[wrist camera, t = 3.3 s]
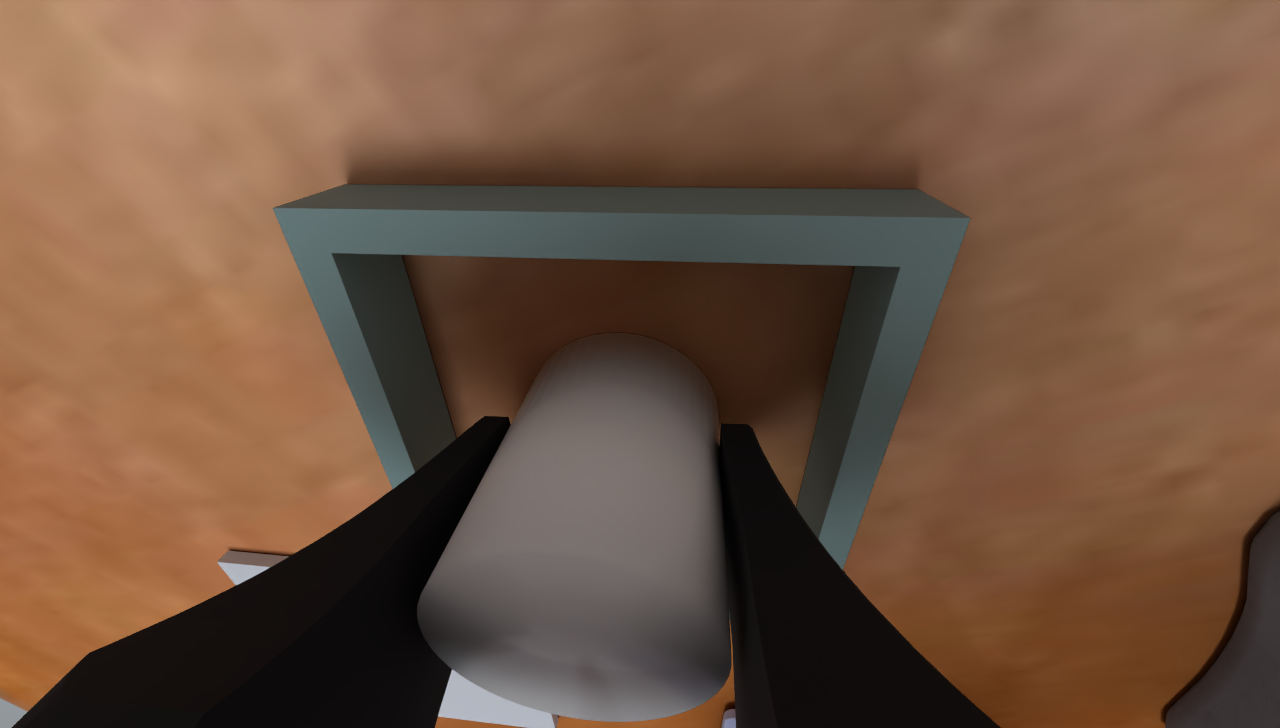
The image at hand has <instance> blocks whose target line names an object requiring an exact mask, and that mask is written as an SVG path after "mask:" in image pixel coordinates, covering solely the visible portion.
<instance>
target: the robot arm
mask: <svg viewBox="0 0 1280 728" xmlns="http://www.w3.org/2000/svg"><path fill="white" fill-rule="evenodd" d="M509 427H510V421H509V417H493V416H484V417H483V418H482V419H480V420H479V421H478V422H476V423H475V424H474V425H473V426H471V427H470V428H469V429H468V430H467V431H465V432H464V433H463V434H462V435H460V436H459V437H458V438H457V439H456V440H454V441H453V442H452V443H451V444H450V445H448V446H447V447H446V448H445V449H443V450H442V451H441V452H440V453H439V454H437V455H436V456H435V457H434V458H432V459H431V460H430V461H429V462H427V463H426V464H425V465H424V466H422V467H421V468H420V469H419V470H417V471H416V472H415V473H414V474H412V475H411V476H410V477H408V478H407V479H406V480H404V481H403V482H402V483H400V484H399V485H398V486H396V487H395V488H394V489H392V490H391V491H390V492H388V493H387V494H386V495H384V496H383V497H382V498H380V499H379V500H378V501H376V502H375V503H374V504H372V505H371V506H369V507H368V508H366V509H365V510H363V511H362V512H361V513H359V514H358V515H356V516H355V517H353V518H352V519H350V520H349V521H347V522H346V523H344V524H342V525H341V526H339V527H338V528H336V529H335V530H333V531H331V532H330V533H328V534H327V535H325V536H324V537H322V538H320V539H319V540H317V541H315V542H314V543H312V544H310V545H309V546H307V547H305V548H303V549H302V550H300V551H298V552H296V553H295V554H293V555H291V556H289V557H288V558H286V559H284V560H282V561H281V562H279V563H277V564H275V565H274V566H272V567H270V568H268V569H266V570H265V571H263V572H261V573H259V574H257V575H255V576H254V577H252V578H250V579H248V580H246V581H244V582H242V583H240V584H238V585H236V586H234V587H232V588H230V589H228V590H227V591H224V592H222V593H220V594H218V595H216V596H214V597H212V598H210V599H208V600H206V601H204V602H202V603H200V604H198V605H196V606H194V607H192V608H190V609H188V610H185V611H183V612H181V613H179V614H177V615H175V616H173V617H170V618H168V619H166V620H164V621H161V622H159V623H157V624H154V625H152V626H150V627H148V628H145V629H143V630H141V631H139V632H136V633H134V634H132V635H130V636H127V637H125V638H123V639H120V640H118V641H116V642H114V643H111V644H109V645H107V646H104V647H102V648H100V649H97V650H95V651H92V652H90V653H89V654H87V655H86V656H85V657H84V658H83V659H82V660H81V661H80V662H79V663H78V664H77V665H76V666H75V667H74V668H73V669H72V670H71V671H70V672H69V673H67V674H66V675H65V676H64V677H63V678H62V679H61V680H60V681H59V682H58V683H57V684H56V685H55V686H54V687H53V688H52V689H51V690H50V691H49V692H48V693H47V694H46V695H45V696H44V697H43V698H42V699H41V700H40V701H39V702H38V703H37V704H36V705H34V706H33V707H32V708H31V709H30V710H29V711H28V712H27V713H26V714H25V715H24V716H23V717H22V718H21V719H20V720H19V721H18V722H17V723H16V724H15V725H14V726H13V727H12V728H435V725H436V721H437V717H438V714H439V711H440V707H441V704H442V701H443V698H444V694H445V691H446V688H447V684H448V681H449V678H450V675H451V671H452V668H450V667H449V666H448V665H447V664H446V663H445V662H444V661H442V660H441V659H440V658H439V657H438V656H437V654H436V653H435V652H434V651H433V650H432V649H431V647H430V646H429V644H428V643H427V641H426V640H425V638H424V637H423V634H422V632H421V630H420V627H419V623H418V619H417V605H418V602H419V598H420V595H421V593H422V591H423V589H424V587H425V586H426V584H427V582H428V580H429V578H430V576H431V574H432V572H433V571H434V569H435V567H436V565H437V563H438V561H439V559H440V557H441V555H442V554H443V552H444V550H445V548H446V546H447V544H448V542H449V540H450V539H451V537H452V535H453V533H454V531H455V529H456V527H457V525H458V523H459V522H460V520H461V518H462V516H463V514H464V512H465V510H466V508H467V506H468V505H469V503H470V501H471V499H472V497H473V495H474V493H475V491H476V490H477V488H478V486H479V484H480V482H481V480H482V478H483V476H484V474H485V473H486V471H487V469H488V467H489V465H490V463H491V461H492V459H493V457H494V456H495V454H496V452H497V450H498V448H499V446H500V444H501V442H502V441H503V439H504V437H505V435H506V433H507V431H508V429H509ZM720 458H721V477H722V494H723V512H724V530H725V549H726V567H727V585H728V604H729V615H730V622H731V633H732V644H733V666H734V690H735V709H730V710H727V711H725V713H724V715H723V721H722V726H721V728H1000V727H999V726H998V725H997V724H996V723H995V722H994V721H992V720H991V719H990V718H989V717H988V716H987V715H986V714H984V713H983V712H982V711H981V710H980V709H979V708H978V707H976V706H975V705H974V704H973V703H972V702H971V701H970V700H969V699H968V698H967V697H966V696H964V695H963V694H962V693H961V692H960V691H959V690H958V689H957V688H956V687H955V686H953V685H952V684H951V683H950V682H949V681H948V680H947V679H946V678H945V677H944V676H943V675H942V674H941V673H940V672H939V671H938V670H937V669H936V668H935V667H934V666H933V665H931V664H930V663H929V662H928V661H927V660H926V659H925V658H924V657H923V656H922V655H921V654H920V653H919V652H918V651H917V650H916V649H915V648H914V647H913V646H912V645H911V644H910V643H909V642H908V641H907V640H906V639H905V638H904V637H903V636H902V635H901V634H900V632H899V631H898V630H897V629H896V628H895V627H894V626H893V625H892V624H891V623H890V622H889V621H888V620H887V619H886V618H885V617H884V616H883V615H882V614H881V613H880V612H879V611H878V610H877V608H876V607H875V606H874V605H873V604H872V603H871V602H870V601H869V600H868V599H867V598H866V597H865V595H864V594H863V593H862V592H861V591H860V590H859V589H858V587H857V586H856V585H855V584H854V583H853V582H852V580H851V579H850V578H849V577H848V576H847V575H846V574H845V572H844V571H843V570H842V569H841V567H840V566H839V565H838V564H837V562H836V561H835V560H834V559H833V558H832V556H831V555H830V554H829V553H828V551H827V550H826V549H825V547H824V546H823V545H822V543H821V542H820V541H819V539H818V538H817V537H816V535H815V534H814V533H813V531H812V530H811V528H810V527H809V526H808V524H807V523H806V521H805V520H804V519H803V517H802V516H801V514H800V513H799V511H798V510H797V508H796V507H795V505H794V504H793V502H792V501H791V499H790V498H789V496H788V494H787V493H786V491H785V489H784V488H783V486H782V485H781V483H780V481H779V480H778V478H777V476H776V475H775V473H774V471H773V469H772V468H771V466H770V464H769V462H768V460H767V458H766V457H765V455H764V453H763V451H762V449H761V447H760V445H759V443H758V440H757V438H756V436H755V433H754V431H753V428H752V427H750V426H749V425H748V424H722V423H721V434H720Z"/></svg>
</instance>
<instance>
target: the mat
mask: <svg viewBox="0 0 1280 728" xmlns="http://www.w3.org/2000/svg"><path fill="white" fill-rule="evenodd" d="M288 557H289V556H280V555H269V554H258V553H248V552H237V551H227V552H226V553H225V554H224V555H223V556H222V557H221V558H220V559H219V560H218V561H217V563H218V564H219V565H220V566H221V568H222V569H223V570H224V571H225V572H226V574H227V575H228V576H229V577H230V579H231V580H232V581H233V582H234V583H235V585H238V584H240V583H242V582H244V581H246V580H248V579H250V578H252V577H254V576H255V575H257V574H259V573H261V572H263V571H265V570H266V569H268V568H270V567H272V566H274V565H275V564H277V563H279V562H281V561H282V560H284V559H286V558H288ZM438 716H439V717H447V718H455V719H463V720H471V721H479V722H487V723H495V724H503V725H511V726H518V727H526V728H557V723H558V716H557V715H555V714H551V713H547V712H543V711H539V710H535V709H532V708H529V707H526V706H523V705H520V704H517V703H514V702H512V701H509V700H506V699H504V698H502V697H499V696H497V695H495V694H493V693H490V692H488V691H486V690H485V689H483V688H481V687H479V686H477V685H475V684H474V683H472V682H470V681H469V680H467V679H466V678H464V677H462V676H461V675H460V674H458V673H457V672H456V671H454V670H453V669H452V671H451V675H450V678H449V681H448V684H447V688H446V691H445V694H444V698H443V701H442V704H441V707H440V711H439V714H438Z"/></svg>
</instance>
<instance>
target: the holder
mask: <svg viewBox="0 0 1280 728" xmlns="http://www.w3.org/2000/svg"><path fill="white" fill-rule="evenodd" d="M273 210H274V212H275V215H276V217H277V219H278V222H279V224H280V226H281V229H282V231H283V233H284V236H285V238H286V240H287V243H288V245H289V247H290V250H291V252H292V254H293V257H294V259H295V261H296V264H297V266H298V268H299V271H300V273H301V275H302V278H303V280H304V283H305V285H306V287H307V290H308V292H309V294H310V297H311V299H312V301H313V304H314V306H315V308H316V311H317V313H318V315H319V318H320V320H321V322H322V325H323V327H324V329H325V332H326V334H327V336H328V339H329V341H330V343H331V346H332V348H333V350H334V353H335V355H336V357H337V360H338V362H339V364H340V367H341V369H342V371H343V374H344V376H345V378H346V381H347V383H348V385H349V388H350V390H351V392H352V395H353V397H354V399H355V402H356V404H357V406H358V409H359V411H360V413H361V416H362V418H363V420H364V423H365V425H366V427H367V430H368V432H369V434H370V437H371V439H372V441H373V444H374V446H375V448H376V451H377V453H378V456H379V458H380V460H381V463H382V465H383V467H384V470H385V472H386V474H387V477H388V479H389V481H390V484H391V486H392V488H393V489H394V488H395V487H396V486H398V485H399V484H400V483H402V482H403V481H404V480H406V479H407V478H408V477H410V476H411V475H412V474H414V473H415V472H416V471H417V470H419V469H420V468H421V467H422V466H424V465H425V464H426V463H427V462H429V461H430V460H431V459H432V458H434V457H435V456H436V455H437V454H439V453H440V452H441V451H442V450H443V449H445V448H446V447H447V446H448V445H450V444H451V443H452V442H453V441H454V440H456V436H455V433H454V430H453V426H452V423H451V420H450V416H449V413H448V410H447V406H446V403H445V400H444V396H443V393H442V389H441V386H440V383H439V379H438V376H437V373H436V369H435V366H434V363H433V359H432V356H431V353H430V349H429V346H428V343H427V339H426V336H425V333H424V329H423V326H422V322H421V319H420V316H419V312H418V309H417V306H416V302H415V299H414V296H413V292H412V289H411V286H410V282H409V279H408V276H407V272H406V269H405V265H404V262H403V259H402V255H433V256H474V257H514V258H555V259H596V260H637V261H678V262H719V263H760V264H801V265H842V266H855V269H854V273H853V277H852V282H851V286H850V290H849V294H848V298H847V302H846V306H845V310H844V314H843V318H842V322H841V326H840V330H839V334H838V338H837V343H836V347H835V351H834V355H833V359H832V363H831V367H830V371H829V375H828V379H827V383H826V387H825V391H824V395H823V399H822V404H821V408H820V412H819V416H818V420H817V424H816V428H815V432H814V436H813V440H812V444H811V448H810V452H809V456H808V460H807V465H806V469H805V473H804V477H803V481H802V485H801V489H800V493H799V497H798V501H797V505H796V508H797V510H798V511H799V513H800V514H801V516H802V517H803V519H804V520H805V521H806V523H807V524H808V526H809V527H810V528H811V530H812V531H813V533H814V534H815V535H816V537H817V538H818V539H819V541H820V542H821V543H822V545H823V546H824V547H825V549H826V550H827V551H828V553H829V554H830V555H831V556H832V558H833V559H834V560H835V561H836V562H837V564H838V565H839V566H840V567H841V569H842V570H843V567H844V564H845V562H846V559H847V556H848V554H849V551H850V548H851V545H852V543H853V540H854V537H855V534H856V532H857V529H858V526H859V523H860V521H861V518H862V515H863V512H864V510H865V507H866V504H867V501H868V499H869V496H870V493H871V490H872V488H873V485H874V482H875V479H876V477H877V474H878V471H879V468H880V466H881V463H882V460H883V457H884V455H885V452H886V449H887V446H888V444H889V441H890V438H891V435H892V433H893V430H894V427H895V424H896V422H897V419H898V416H899V413H900V411H901V408H902V405H903V402H904V400H905V397H906V394H907V391H908V389H909V386H910V383H911V380H912V378H913V375H914V372H915V369H916V367H917V364H918V361H919V359H920V356H921V353H922V350H923V348H924V345H925V342H926V339H927V337H928V334H929V331H930V328H931V326H932V323H933V320H934V317H935V315H936V312H937V309H938V306H939V304H940V301H941V298H942V295H943V293H944V290H945V287H946V284H947V282H948V279H949V276H950V273H951V271H952V268H953V265H954V262H955V260H956V257H957V254H958V251H959V249H960V246H961V243H962V240H963V238H964V235H965V232H966V229H967V227H968V224H969V221H970V217H968V216H966V215H964V214H962V213H961V212H959V211H957V210H955V209H953V208H951V207H950V206H948V205H946V204H944V203H942V202H941V201H939V200H937V199H935V198H933V197H931V196H930V195H928V194H926V193H924V192H922V191H920V190H919V189H814V188H700V187H587V186H474V185H360V184H345V185H342V186H339V187H335V188H332V189H329V190H326V191H323V192H320V193H317V194H314V195H311V196H308V197H305V198H302V199H299V200H296V201H293V202H289V203H286V204H283V205H280V206H277V207H274V208H273ZM729 619H730V615H729Z"/></svg>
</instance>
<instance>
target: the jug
mask: <svg viewBox="0 0 1280 728" xmlns="http://www.w3.org/2000/svg"><path fill="white" fill-rule="evenodd" d="M417 619H418V623H419V627H420V630H421V632H422V634H423V637H424V638H425V640H426V641H427V643H428V644H429V646H430V647H431V649H432V650H433V651H434V652H435V653H436V654H437V656H438V657H439V658H440V659H441V660H442V661H444V662H445V663H446V664H447V665H448V666H449V667H450V668H452V669H453V670H454V671H456V672H457V673H458V674H460V675H461V676H462V677H464V678H466V679H467V680H469V681H470V682H472V683H474V684H475V685H477V686H479V687H481V688H483V689H485V690H486V691H488V692H490V693H493V694H495V695H497V696H499V697H502V698H504V699H506V700H509V701H512V702H514V703H517V704H520V705H523V706H526V707H529V708H532V709H535V710H539V711H543V712H547V713H551V714H555V715H560V716H565V717H570V718H577V719H585V720H595V721H612V722H627V721H643V720H652V719H658V718H664V717H669V716H672V715H676V714H679V713H683V712H685V711H688V710H690V709H693V708H695V707H697V706H699V705H701V704H703V703H705V702H706V701H708V700H709V699H710V698H712V697H713V696H714V695H716V694H717V693H718V691H719V690H720V689H721V688H722V687H723V686H724V684H725V682H726V680H727V679H728V677H729V674H730V670H731V641H730V622H729V604H728V585H727V567H726V549H725V530H724V512H723V494H722V477H721V458H720V439H719V420H718V406H717V401H716V397H715V394H714V392H713V389H712V387H711V385H710V383H709V381H708V380H707V378H706V377H705V375H704V374H703V373H702V371H701V370H700V369H699V368H698V367H697V366H696V365H695V364H694V363H693V362H692V361H691V360H690V359H689V358H687V357H686V356H685V355H684V354H682V353H681V352H679V351H678V350H676V349H674V348H673V347H671V346H669V345H667V344H665V343H662V342H660V341H658V340H655V339H652V338H648V337H645V336H640V335H635V334H629V333H602V334H596V335H591V336H587V337H584V338H581V339H578V340H576V341H573V342H571V343H569V344H567V345H565V346H564V347H562V348H561V349H559V350H558V351H556V352H555V353H554V354H553V355H552V356H551V357H550V358H549V359H548V360H547V361H546V362H545V364H544V365H543V366H542V368H541V369H540V371H539V373H538V375H537V376H536V378H535V380H534V382H533V384H532V386H531V388H530V390H529V392H528V393H527V395H526V397H525V399H524V401H523V403H522V405H521V407H520V408H519V410H518V412H517V414H516V416H515V418H514V420H513V422H512V424H511V425H510V427H509V429H508V431H507V433H506V435H505V437H504V439H503V441H502V442H501V444H500V446H499V448H498V450H497V452H496V454H495V456H494V457H493V459H492V461H491V463H490V465H489V467H488V469H487V471H486V473H485V474H484V476H483V478H482V480H481V482H480V484H479V486H478V488H477V490H476V491H475V493H474V495H473V497H472V499H471V501H470V503H469V505H468V506H467V508H466V510H465V512H464V514H463V516H462V518H461V520H460V522H459V523H458V525H457V527H456V529H455V531H454V533H453V535H452V537H451V539H450V540H449V542H448V544H447V546H446V548H445V550H444V552H443V554H442V555H441V557H440V559H439V561H438V563H437V565H436V567H435V569H434V571H433V572H432V574H431V576H430V578H429V580H428V582H427V584H426V586H425V587H424V589H423V591H422V593H421V595H420V598H419V602H418V605H417Z"/></svg>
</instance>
